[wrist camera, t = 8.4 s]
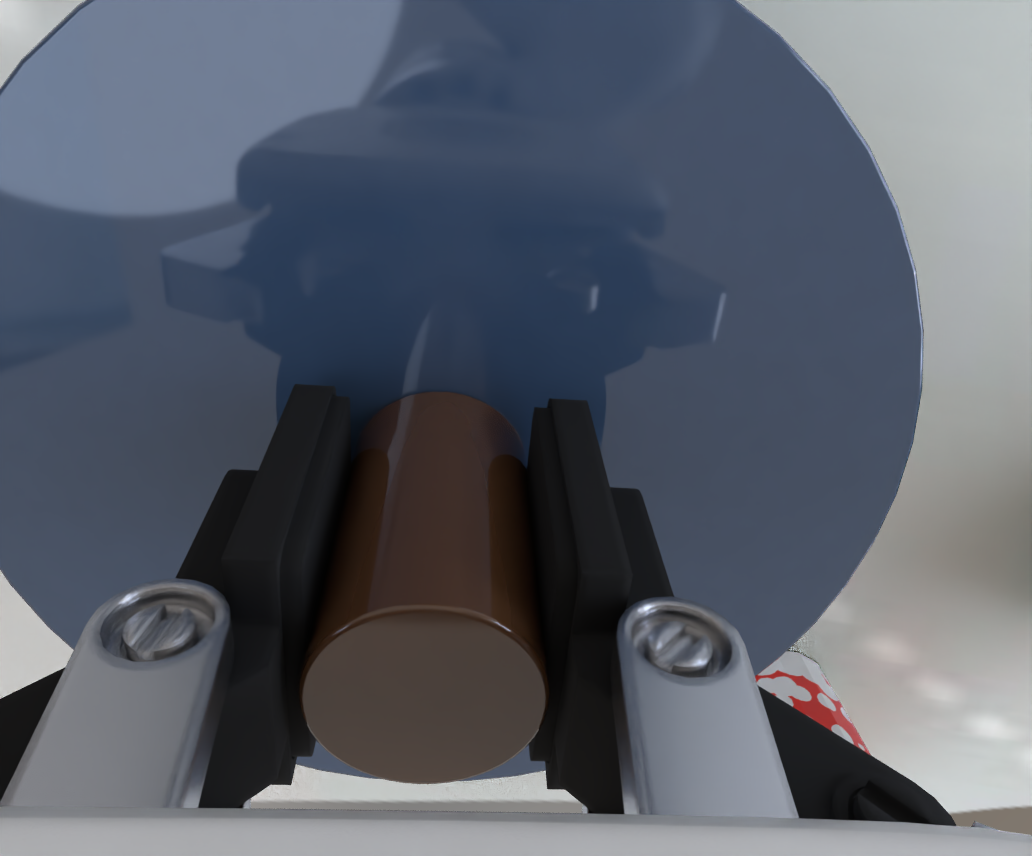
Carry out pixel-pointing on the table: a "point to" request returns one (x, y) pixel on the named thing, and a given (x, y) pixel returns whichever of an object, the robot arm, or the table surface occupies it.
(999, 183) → the table surface
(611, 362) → the crock lid
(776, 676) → the beverage cup
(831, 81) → the table surface
